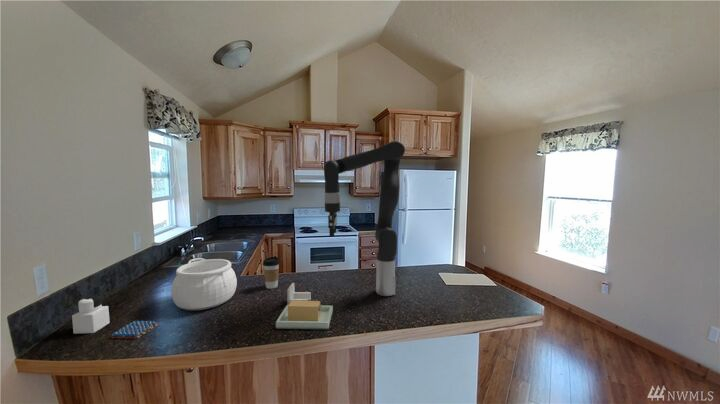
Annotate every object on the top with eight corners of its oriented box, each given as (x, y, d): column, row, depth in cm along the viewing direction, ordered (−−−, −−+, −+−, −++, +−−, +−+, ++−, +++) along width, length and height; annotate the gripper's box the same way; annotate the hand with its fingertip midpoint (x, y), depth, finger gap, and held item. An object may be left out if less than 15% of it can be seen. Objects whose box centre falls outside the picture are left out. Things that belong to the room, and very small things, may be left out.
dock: (310, 299, 127) (310, 283, 126) (306, 307, 118) (306, 290, 118) (292, 299, 127) (292, 282, 126) (287, 307, 119) (287, 289, 118)
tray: (332, 311, 115) (332, 305, 115) (328, 329, 101) (328, 322, 101) (286, 310, 116) (286, 305, 116) (275, 328, 102) (275, 322, 102)
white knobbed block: (90, 323, 105) (88, 294, 104) (110, 323, 106) (107, 293, 105) (72, 334, 98) (70, 302, 97) (93, 333, 99) (91, 301, 98)
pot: (247, 300, 126) (246, 264, 124) (182, 322, 106) (179, 280, 105) (224, 284, 145) (222, 253, 144) (165, 300, 126) (163, 264, 125)
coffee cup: (283, 284, 144) (282, 257, 143) (272, 290, 137) (271, 262, 135) (271, 282, 148) (270, 255, 147) (259, 287, 140) (259, 260, 139)
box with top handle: (322, 315, 111) (322, 301, 110) (319, 321, 106) (319, 306, 105) (291, 314, 111) (291, 300, 111) (288, 320, 106) (287, 306, 106)
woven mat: (160, 324, 106) (160, 319, 105) (137, 340, 95) (137, 335, 95) (134, 324, 106) (134, 319, 106) (109, 340, 95) (108, 334, 95)
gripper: (338, 203, 123) (339, 237, 125) (341, 200, 138) (341, 231, 139) (322, 203, 124) (323, 237, 125) (326, 200, 138) (327, 231, 139)
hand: (332, 234), depth 132 cm, fingers open, 8 cm apart
